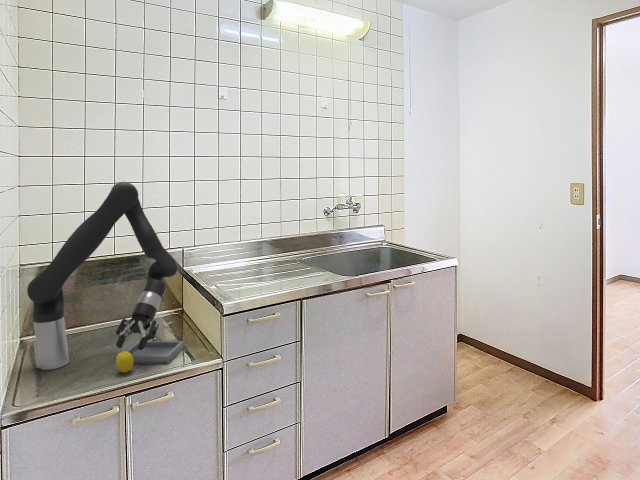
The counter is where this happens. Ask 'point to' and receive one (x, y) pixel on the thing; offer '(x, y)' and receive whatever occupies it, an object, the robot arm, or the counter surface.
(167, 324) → the counter surface
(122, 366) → the lemon
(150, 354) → the tray
